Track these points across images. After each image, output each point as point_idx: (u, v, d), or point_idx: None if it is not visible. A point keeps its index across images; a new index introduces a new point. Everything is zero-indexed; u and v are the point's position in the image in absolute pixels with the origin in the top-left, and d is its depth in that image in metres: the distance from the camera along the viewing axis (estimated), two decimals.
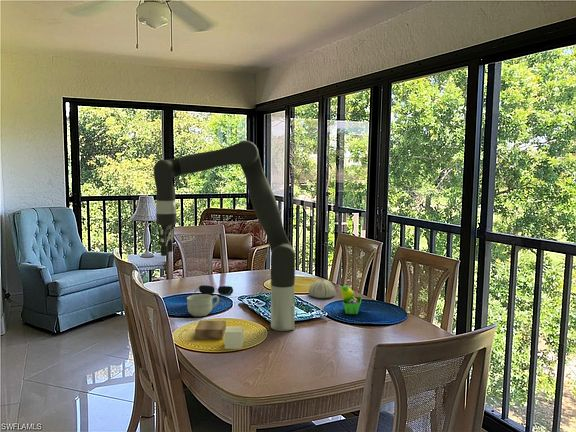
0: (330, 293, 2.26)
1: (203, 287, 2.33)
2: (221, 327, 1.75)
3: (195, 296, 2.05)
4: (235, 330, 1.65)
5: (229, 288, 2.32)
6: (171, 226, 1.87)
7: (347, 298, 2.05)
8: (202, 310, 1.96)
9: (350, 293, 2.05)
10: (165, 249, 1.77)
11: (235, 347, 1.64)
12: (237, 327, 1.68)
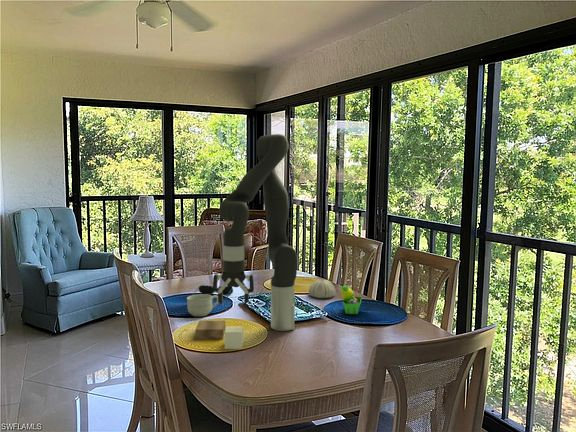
0: (330, 293, 2.26)
1: (203, 287, 2.33)
2: (221, 327, 1.75)
3: (195, 296, 2.05)
4: (235, 330, 1.65)
5: (229, 288, 2.32)
6: None
7: (347, 298, 2.05)
8: (202, 310, 1.96)
9: (350, 293, 2.05)
10: None
11: (235, 347, 1.64)
12: (237, 327, 1.68)
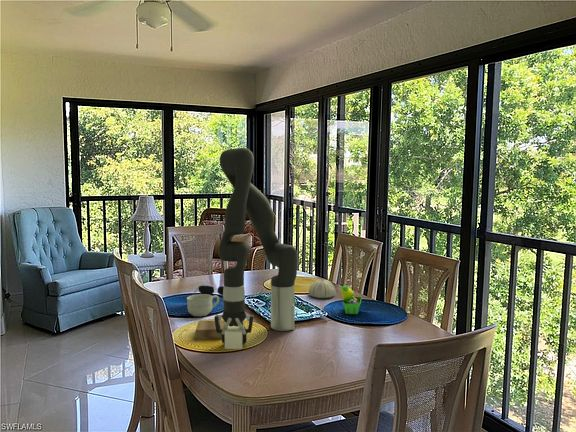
0: (330, 293, 2.26)
1: (203, 287, 2.33)
2: (222, 327, 1.75)
3: (195, 296, 2.05)
4: (235, 330, 1.65)
5: None
6: None
7: (347, 298, 2.05)
8: (202, 310, 1.96)
9: (350, 293, 2.05)
10: None
11: (235, 347, 1.64)
12: (237, 327, 1.68)
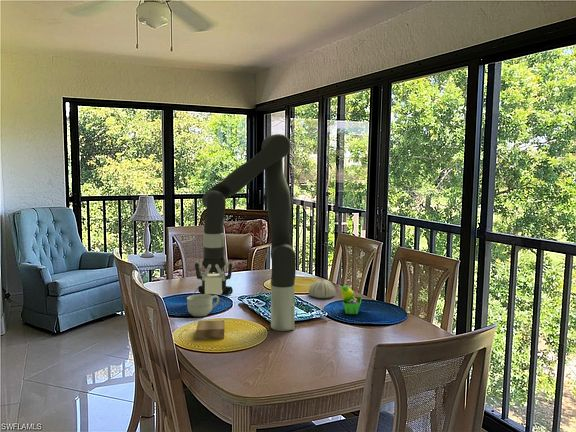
0: (330, 293, 2.26)
1: None
2: (222, 327, 1.75)
3: (195, 296, 2.05)
4: (215, 276, 1.72)
5: (229, 288, 2.31)
6: None
7: (347, 298, 2.05)
8: (202, 310, 1.96)
9: (350, 293, 2.05)
10: None
11: (215, 292, 1.71)
12: (217, 274, 1.75)
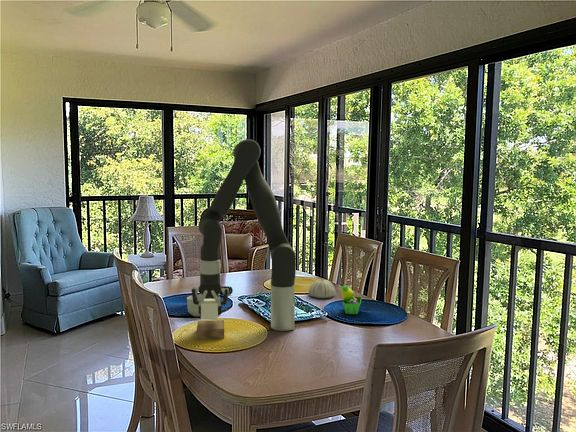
0: (330, 293, 2.26)
1: None
2: (222, 326, 1.75)
3: None
4: (211, 302, 1.75)
5: None
6: None
7: (347, 298, 2.05)
8: None
9: (350, 293, 2.05)
10: None
11: (211, 318, 1.74)
12: (213, 299, 1.78)
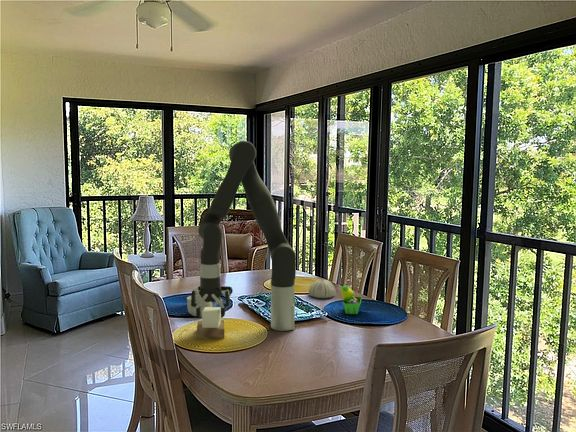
0: (330, 293, 2.26)
1: None
2: (222, 327, 1.75)
3: None
4: (212, 310, 1.75)
5: (228, 288, 2.31)
6: None
7: (347, 298, 2.05)
8: (202, 310, 1.96)
9: (350, 293, 2.05)
10: None
11: (212, 326, 1.74)
12: (214, 308, 1.79)
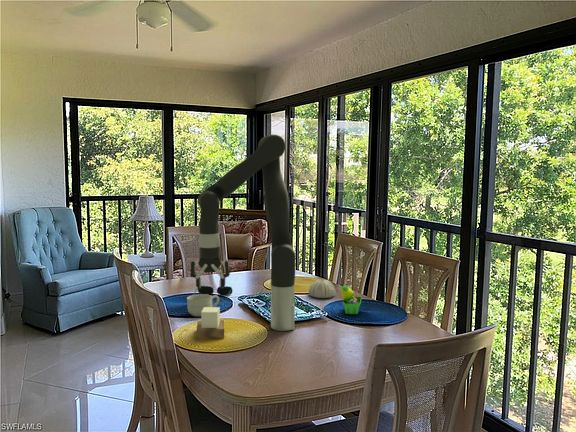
0: (330, 293, 2.26)
1: (202, 288, 2.32)
2: (222, 327, 1.75)
3: (195, 296, 2.05)
4: (211, 310, 1.75)
5: (228, 288, 2.31)
6: None
7: (347, 298, 2.05)
8: None
9: (350, 293, 2.05)
10: None
11: (211, 326, 1.74)
12: (214, 308, 1.79)
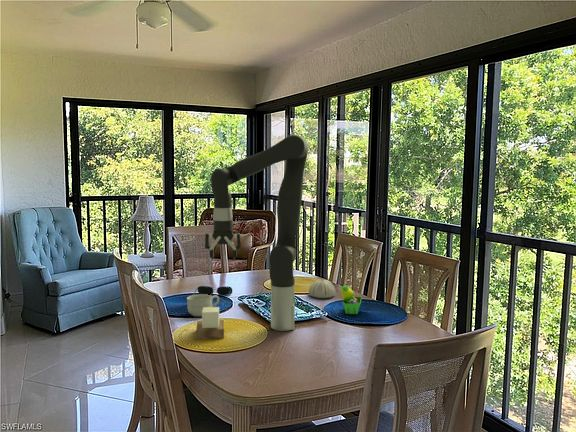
0: (330, 293, 2.26)
1: (202, 288, 2.32)
2: (222, 327, 1.75)
3: (195, 296, 2.05)
4: (211, 310, 1.75)
5: (228, 288, 2.31)
6: (209, 234, 1.88)
7: (347, 298, 2.05)
8: (202, 310, 1.96)
9: (350, 293, 2.05)
10: None
11: (212, 326, 1.74)
12: (213, 308, 1.79)
